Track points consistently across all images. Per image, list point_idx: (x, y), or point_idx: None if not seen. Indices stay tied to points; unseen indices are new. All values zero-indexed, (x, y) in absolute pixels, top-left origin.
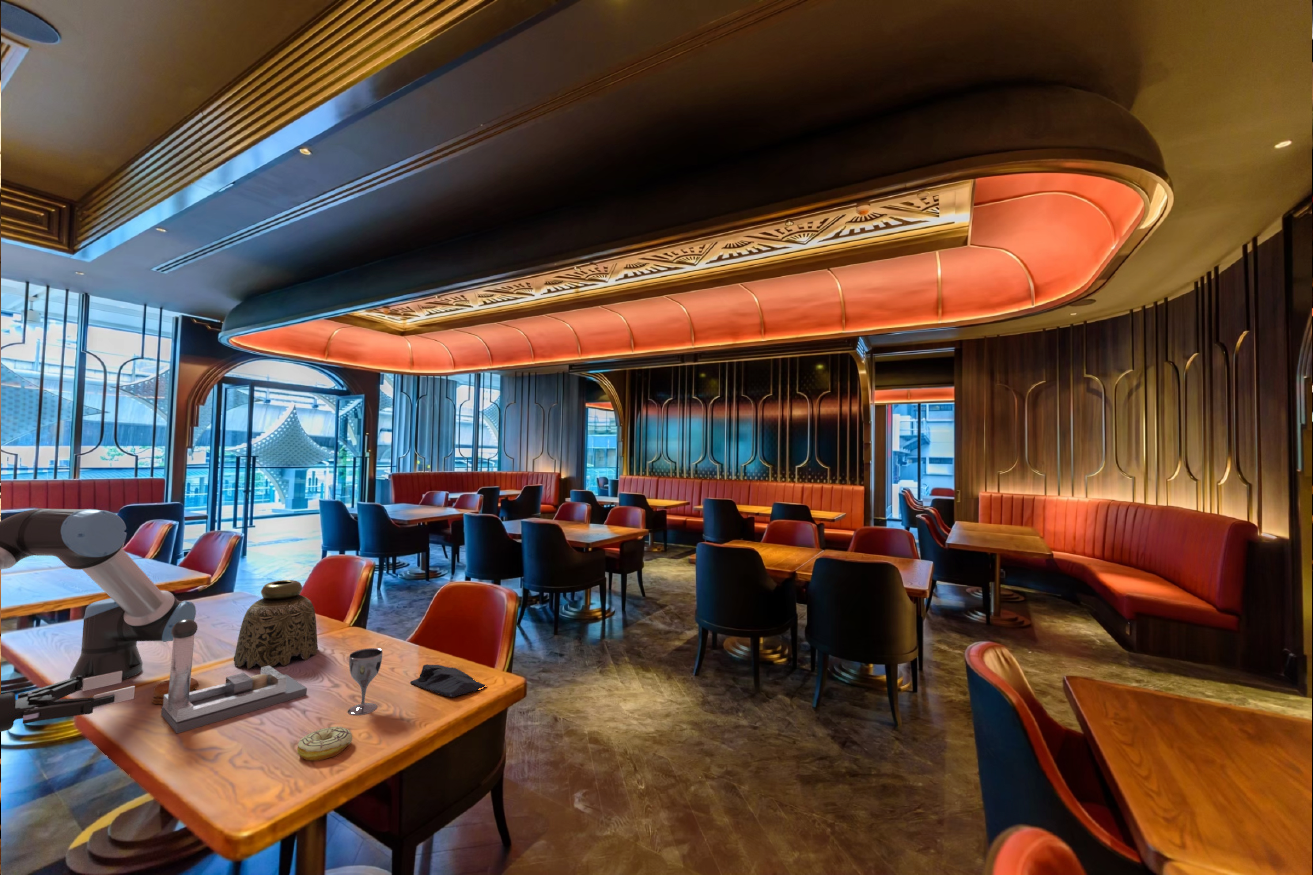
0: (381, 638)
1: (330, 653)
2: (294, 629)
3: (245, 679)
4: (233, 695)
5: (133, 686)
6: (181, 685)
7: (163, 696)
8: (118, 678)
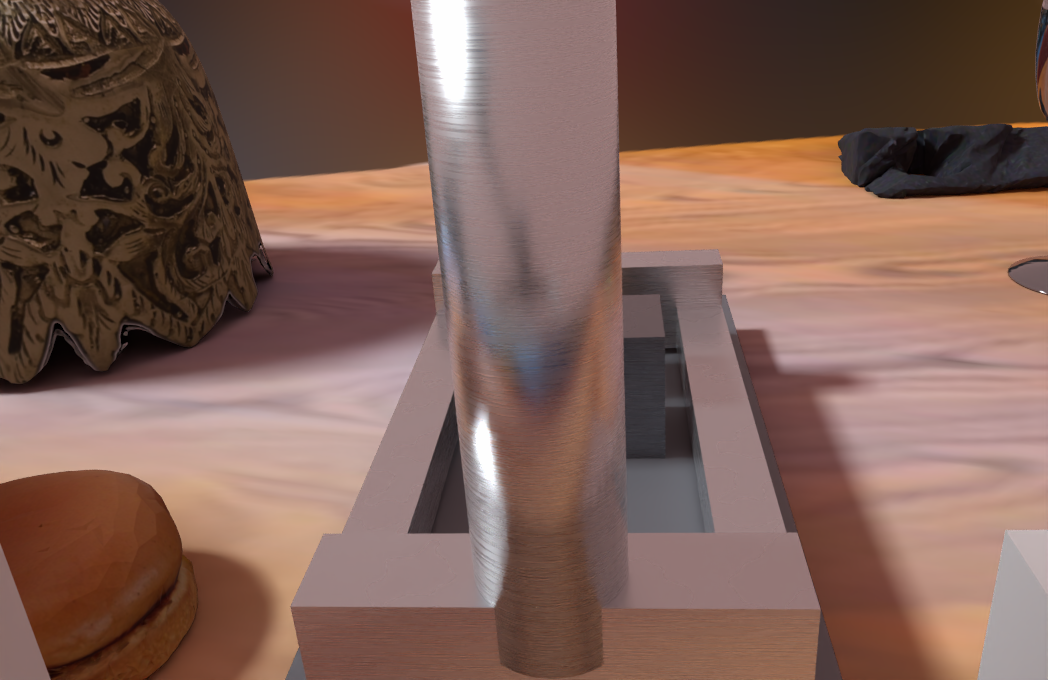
0: (332, 176)
1: (297, 239)
2: (211, 124)
3: (624, 308)
4: (659, 413)
5: (1043, 540)
6: (623, 429)
7: (79, 650)
8: (4, 652)
